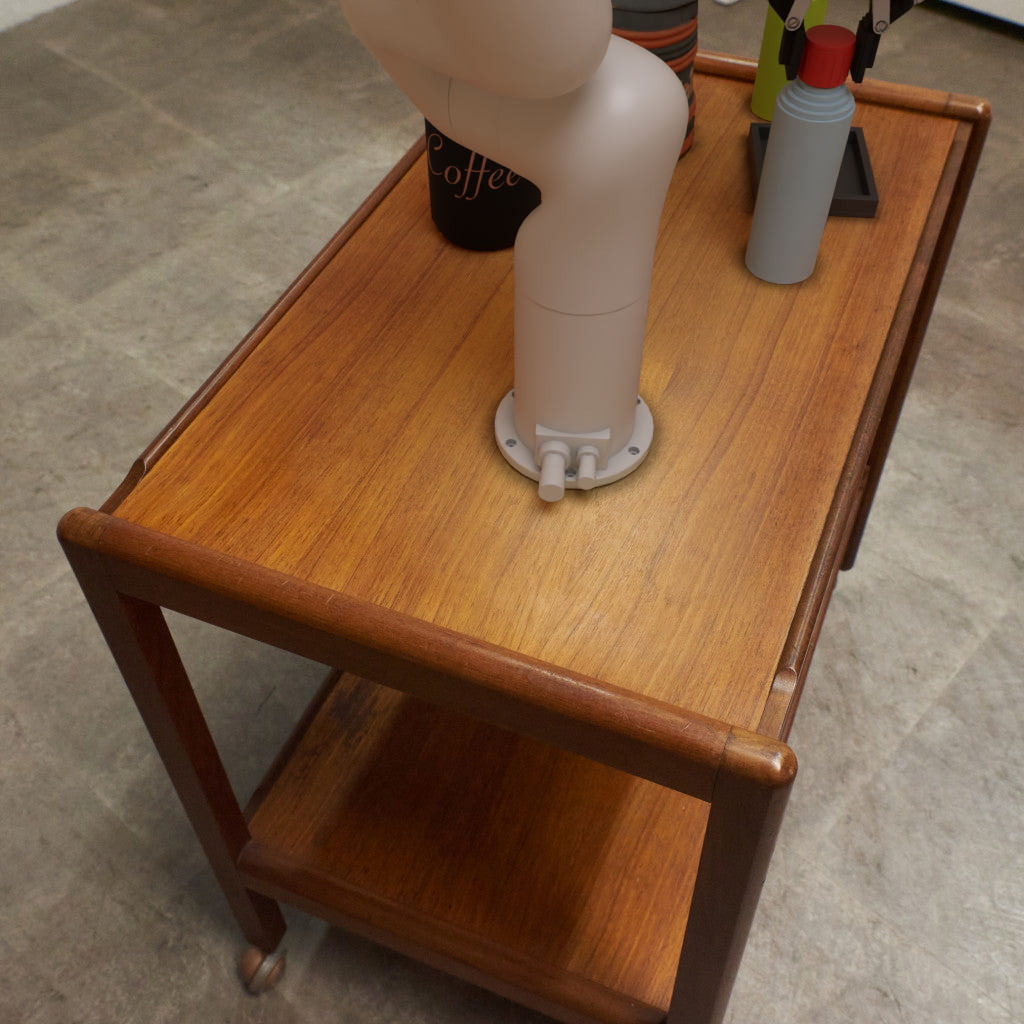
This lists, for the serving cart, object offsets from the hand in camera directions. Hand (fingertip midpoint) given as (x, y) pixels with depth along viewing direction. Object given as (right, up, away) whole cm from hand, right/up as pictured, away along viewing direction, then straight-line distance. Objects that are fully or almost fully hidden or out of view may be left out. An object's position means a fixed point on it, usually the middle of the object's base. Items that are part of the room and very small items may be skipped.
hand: (822, 71), depth 85 cm
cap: (0, 0, 0) cm, 0 cm away
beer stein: (-15, +6, +29) cm, 34 cm away
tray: (+5, -1, +24) cm, 24 cm away
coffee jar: (-28, -7, +18) cm, 34 cm away
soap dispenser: (+5, +10, +33) cm, 35 cm away
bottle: (0, -12, +14) cm, 19 cm away
